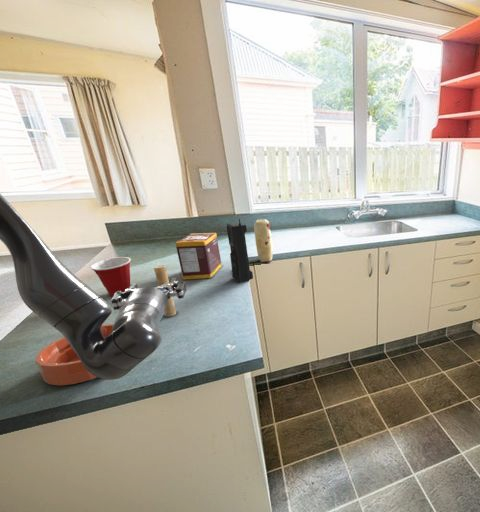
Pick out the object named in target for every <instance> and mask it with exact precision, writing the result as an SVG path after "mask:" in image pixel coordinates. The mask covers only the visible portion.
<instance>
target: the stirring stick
mask: <svg viewBox="0 0 480 512" xmlns="http://www.w3.org/2000/svg"><path fill="white" fill-rule="evenodd" d="M166 267H167V266H166V265H164V264H160V265H156V266H154V267H153V271H154V275H155V278H156V282H157V287H159V286H161V285H163V284H170V283H171V282H170V279H169V274H168V271H167V268H166ZM164 289H165V288H164ZM164 315H165V317H167V318H170V317H173V316H176V315H177V310H176V306H175V301H174V296H173V297H171V298H170V299H169V300H167V305H166V308H165V312H164Z"/></svg>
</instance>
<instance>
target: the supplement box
mask: <svg viewBox="0 0 480 512" xmlns="http://www.w3.org/2000/svg"><path fill="white" fill-rule="evenodd" d="M174 245H175V247H176V252H177V256H178V262H179V266H180V271H181V275H182V279H183V280H182V281H186V280H196V279H197V280H198V279H211V278H212V277H213V276H214V275H215V274H216V273H217V272H218V271H219V270H220V268H221V267H222V266H223V265H222V264H223V263H222V260H221V254H220V247H219V241H218V235H217V232H203V233H202V232H201V233H200V232H199V233H189V234H188V235H186V236H184V237H183V238H181V239H179V240H177V241H176V242H175V244H174Z"/></svg>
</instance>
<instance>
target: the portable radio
mask: <svg viewBox="0 0 480 512" xmlns="http://www.w3.org/2000/svg"><path fill="white" fill-rule="evenodd" d="M226 231H227V239H228V245H229V247H230V253H229V257H230V264H231V266H230V267H231V277H232V278H233V279H234V280H235V281H237V283H244V282H248V281H250V280H252V279H254V275H253V274H254V273H253V271H252V270H251V268H250V261H249V255H248V247H247V240H246V233H247V232H248V230H247V225H246V224H245V223H242V222H241V218H238V222H233V223H232V222H231V223H230V222H229V223H227V224H226Z"/></svg>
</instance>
